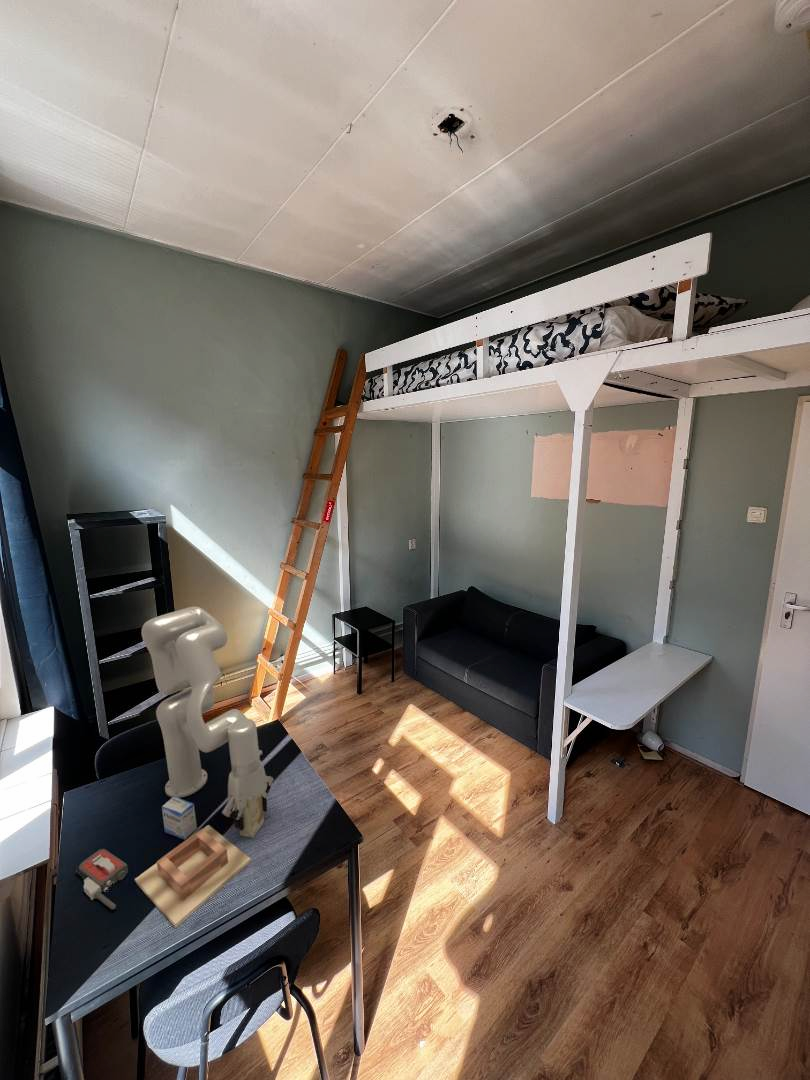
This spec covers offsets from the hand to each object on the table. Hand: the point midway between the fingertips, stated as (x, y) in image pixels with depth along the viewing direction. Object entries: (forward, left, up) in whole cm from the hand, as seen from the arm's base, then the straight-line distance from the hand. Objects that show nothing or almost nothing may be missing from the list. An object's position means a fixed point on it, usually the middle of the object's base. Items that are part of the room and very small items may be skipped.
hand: (251, 818), depth 125 cm
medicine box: (-17, -12, -4) cm, 21 cm away
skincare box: (0, 0, -4) cm, 4 cm away
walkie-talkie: (-18, -31, -4) cm, 36 cm away
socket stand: (-1, -17, -3) cm, 17 cm away
